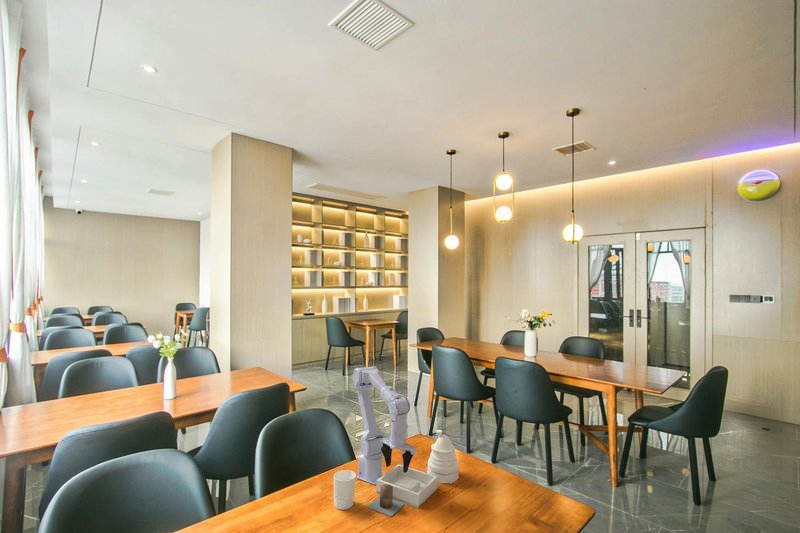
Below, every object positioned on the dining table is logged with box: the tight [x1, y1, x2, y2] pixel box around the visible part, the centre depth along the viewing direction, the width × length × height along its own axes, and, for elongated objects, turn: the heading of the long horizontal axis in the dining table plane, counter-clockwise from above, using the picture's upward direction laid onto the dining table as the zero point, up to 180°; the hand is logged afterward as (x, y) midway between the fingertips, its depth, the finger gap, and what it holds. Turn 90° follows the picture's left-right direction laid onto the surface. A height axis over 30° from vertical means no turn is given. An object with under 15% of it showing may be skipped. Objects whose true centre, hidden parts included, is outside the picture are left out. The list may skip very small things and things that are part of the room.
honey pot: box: [426, 429, 460, 484], centre depth 157 cm, size 13×13×18 cm
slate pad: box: [366, 495, 406, 518], centre depth 133 cm, size 10×9×1 cm
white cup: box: [333, 469, 357, 510], centre depth 133 cm, size 8×8×10 cm
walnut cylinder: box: [379, 484, 394, 509], centre depth 133 cm, size 4×4×6 cm
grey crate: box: [375, 463, 439, 509], centre depth 144 cm, size 18×16×4 cm
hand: (396, 468), depth 140 cm, fingers open, 7 cm apart
